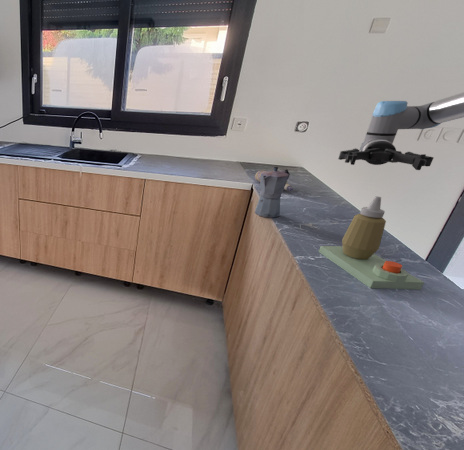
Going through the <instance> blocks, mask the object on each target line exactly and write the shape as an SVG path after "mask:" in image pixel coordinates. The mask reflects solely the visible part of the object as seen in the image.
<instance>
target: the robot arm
mask: <svg viewBox="0 0 464 450" xmlns="http://www.w3.org/2000/svg"><path fill="white" fill-rule="evenodd" d="M408 104H409V103H408V101H406V100H381V101H379V102H377V104H376V105H375V108H374V110H373V112H372V114H371V119H370V122H369V125H368V128H367V131H366V133H365V136H364V139H363V142H362V143H361V145H360V147H359V149H358V148H356V147H355V148H352V149H346V150H341V151H340V152H339V155H338V160H341V161H342V160H344V163H345V164H349V163H350V165H351V166H354V165H355V164H356V161H361V160H362V161H365V162H367V163H368V164H370V165H373V166H381V165H386V164H388V163H395V164H396V163H397V164H398V163H401V164H407V165H411V166H412V168H414V169H415V170H416V171H421V169H422V167H431V165H432V163H433V160H434V159H435V158H434V157H433V156H429V155H427V154H425V153H424V154H419V153H414V152H411V151H406V152H404V153H403V152H402V151H400V150H397V148H396V147H395V145H394V144H393V143H394V142H395V138H396V136H397V134H398V131H399V130H426V129H433V128H436V127H438V126H440V125H441V124H443V123H446V122H451V121H454V120H455V121H456V120H458V119H463V118H464V92H460V93H458V94H454V95H451V96H448V97H445V98H441V99H438V100H435V101H432V102H428V103H425V104H422V105H413V106H411V105H409V106H408Z"/></svg>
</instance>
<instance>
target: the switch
mask: <svg viewBox="0 0 464 450" xmlns="http://www.w3.org/2000/svg"><path fill="white" fill-rule="evenodd" d="M382 269H384V270H385V271H388V272H392V273H400V270H401V269H403V265H402V264H401V263H398V262H396V261H392V260H386V261H385V263H384V265H383V268H382Z"/></svg>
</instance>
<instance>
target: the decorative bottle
mask: <svg viewBox="0 0 464 450" xmlns="http://www.w3.org/2000/svg"><path fill="white" fill-rule="evenodd" d="M265 171H266V170H263V169H262V170H261V169H260V170H258V171H257V172H256V173H255V175H254V179H255V180H256V181H257V182H259V183H260V178H261V173H263V172H265ZM293 190H294V188H293V187H292V185H290V184H289V183H288V181H287V182H286V184H285V187H284V190H283V191H293Z"/></svg>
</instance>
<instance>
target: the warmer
mask: <svg viewBox="0 0 464 450" xmlns="http://www.w3.org/2000/svg"><path fill="white" fill-rule="evenodd" d="M318 253H319V254H321V255H322V256H323V257H325V258H327V259H328V260H330V261H331V262H332V263H334V264H335V265H336V266H338V267H339V268H341V269H342V270H344V271H345V272H346V273H348V274H349V275H351V276H352V277H353V278H355V279H356V280H358V281H359V282H361V283H362V284H364V285H365V286H366V287H368V288H369V289H386V290H387V289H392V290H422V288H423V286H424V285H425V281H423V280H421V279H419V278H418V277H415V276H414V275H413V274H411V273H409V272H408V271H407V270H405V269H403V268H401V270H400V273H392V272H388V271H385V270H384V269H382V268H383V265H384V263H385V261H387V260H386V259H385V258H383V257H380V256H379V255H377V254H375V253H374V254H373V255H372V256H371V257H370V258H369V259H357V258H353V257H350V256H348V255H345V254H344V253H343V245H320V247H319V250H318Z"/></svg>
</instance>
